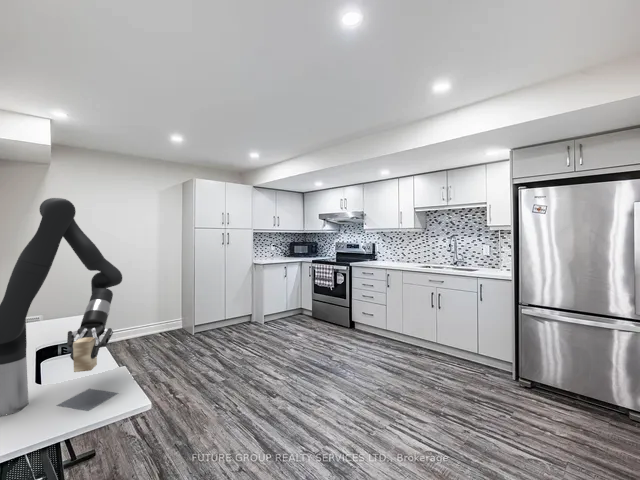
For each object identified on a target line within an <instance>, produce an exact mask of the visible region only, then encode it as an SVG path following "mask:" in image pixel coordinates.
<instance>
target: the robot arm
mask: <svg viewBox="0 0 640 480" xmlns="http://www.w3.org/2000/svg"><path fill="white" fill-rule="evenodd" d="M39 214H40V216H41V220H40V222H39V225H38V228H37V230H36V232H35V234H34V235H33V237H32V238H31V240H30V241H28V243H27V244H26V246H25V247H24V249H22V251H21V252H20V255H19V256H18V258H17V260H16V263H15V265H14V266H13V269H12V271H11V274H10V277H9V279H8V283H7V286H6V289H5V292H4V295H3V298H2V301H1V302H0V415H5V416H7V415H6V414H9V415H13V414H15V413H18V412H20V411H22V410H23V409H24V408H26V407H27V406H28V405H29V403H30V402H29V386H28V385H29V379H28V363H27V362H28V361H27V360H28V359H27V347H28V346H27V344H28V343H27V322H26V319H27V315H28V313H29V310H30V308H31V305H32V303H33V301H34V299H35V298H36V296H37V294H38V293H39V291H40V290H41V288H42V287H43V284H44V283H45V281H46V279H47V278H48V275H49V272H50V270H51V268H52V265H53V263H54V260H55V257H56V256H57V252H58V250H59V246H60V244H61V242H62V239H63V238H64V240H65V241H66V243H67V244H68V245H69V246H70V248H71V249H72V250H73V252H74V253H75V255H76V256H77V258H78V259H79V260H80V261H81V263H82V264H83V265H84V267H85V269H87V270H88V271H92V272H93V271H96V272H97V273H95V274H94V275H93V277H92V278H91V280H90V282H91V283H90V284H91V296H90V298H89V301H88V303H87V306H86V308H85V311H84V314H83V317H82V319H81V322H80V327H79V328H78V329H77V330H74V331H72V330H68V332H67V338H66V339H67V341H66V346H67V347H68V348H69V350H71V352H70V355H69V357H70V359H71V360H72V361H74V359H73V343H74V342H75V338H76V340H78V339H81V338H86V337H93V338H95V342H94V345H95V346H93V349H92V353H91V358H92V359H94V358H95V357H96V356H98V355H99V354H98V353H99V350H100V348H102V347H107V345H108V343H109V341H110V339H111V337H112V336H113V335H114V331H113V328H111V327H108V328H106V325H107V322H108V318H109V315H110V310H111V303H112V301H113V295H114V294H113V291H112V290H111V289H109V288H112V287H115V286H118V285H120V284H121V283H122V281H123V274H122V272H121V270H119V269H118V268H117V267H116V266H115V265H114V264H112V262H110V261H109V260H108V259H106V258H105V256H104V255H103V254H102V252H101V251H100V249H99V248H98V247H97V245H96V244H95V243H94V242H93V241H92V240H91V239H90V238H89V236H87V234H86V233H85V232H84V231H83V230H82V229H81V228H80V226H79V225H78V223H77V222H76V219H75V217H76V207H75V205H74V204H73V203H72V202H71V201H70V200H68V199H67V198H62V197H61V198H60V197H51V198H47V199H45V200H43V201H42V202H41V203H40V205H39ZM102 335H104V336H103V337H102ZM77 336H78V337H77ZM100 337H102V339H101V340H100ZM12 413H13V414H12Z"/></svg>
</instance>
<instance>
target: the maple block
mask: <svg viewBox="0 0 640 480" xmlns="http://www.w3.org/2000/svg"><path fill="white" fill-rule="evenodd" d="M94 342H95V338H93V337H86V338H81V339H78V340H77V339H75V340H74V343H73V359H74V360H73V373H80V372H82V373H83V372H89V371H93V369H94V368H95V367H96V366H97V365H98V357H97V356H98V355H97V356H96V357H95V358H94V359H92V358H91V353H92V349H93V346H95V345H94Z"/></svg>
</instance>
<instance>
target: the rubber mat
mask: <svg viewBox="0 0 640 480" xmlns="http://www.w3.org/2000/svg"><path fill="white" fill-rule="evenodd" d="M118 394H119V392H115V391H106V390H103V389H100V390H99V389H93V388H88V389H86V390H84V391H82V392H80V393H78V394H75V395H74V396H71V397H70V398H68V399H66V400H64V401H62V402H61V403H58V404H57V405H56V406H57V407H62V408H68V409H74V410H80V411H86V412H89V411H91V410H93V409H95V408H96V407H98V406H99V405H102V404H103V403H104V402H106V401H108V400H110V399H112V398H114V397H115V396H116V395H118Z"/></svg>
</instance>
